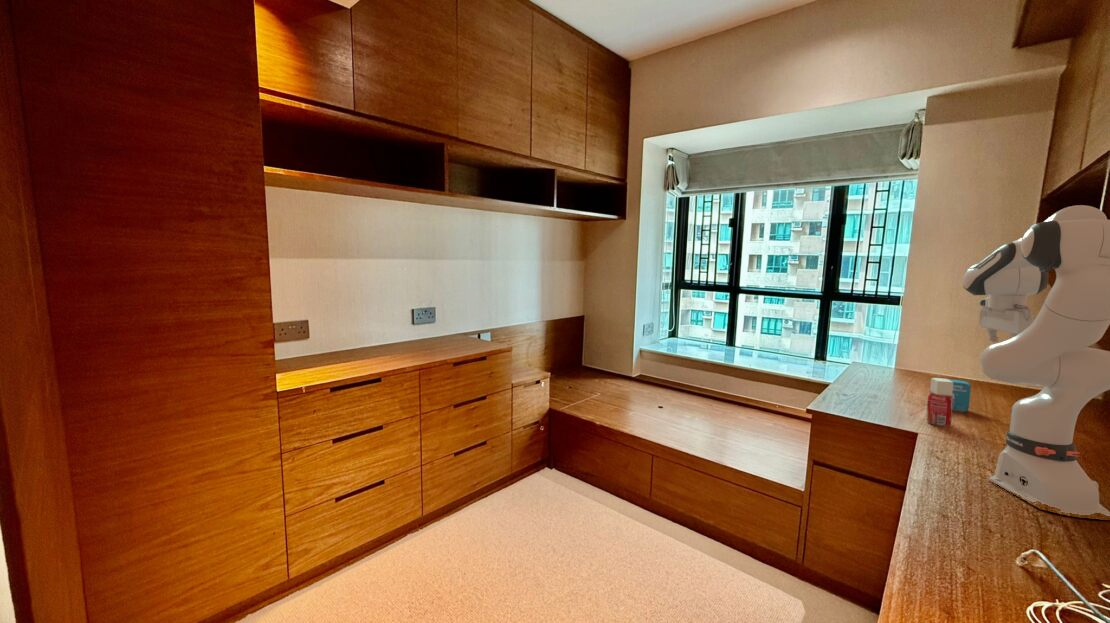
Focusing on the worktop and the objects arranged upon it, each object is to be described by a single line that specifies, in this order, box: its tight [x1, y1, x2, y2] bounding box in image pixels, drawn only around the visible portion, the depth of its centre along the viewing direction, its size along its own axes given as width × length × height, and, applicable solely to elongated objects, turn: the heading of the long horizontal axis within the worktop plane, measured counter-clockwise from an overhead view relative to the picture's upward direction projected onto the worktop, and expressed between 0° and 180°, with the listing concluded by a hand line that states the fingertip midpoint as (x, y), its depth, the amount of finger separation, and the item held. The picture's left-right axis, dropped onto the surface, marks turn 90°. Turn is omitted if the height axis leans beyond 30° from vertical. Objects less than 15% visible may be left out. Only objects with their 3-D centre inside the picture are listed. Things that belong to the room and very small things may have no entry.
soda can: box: [925, 392, 953, 427], centre depth 159 cm, size 7×7×12 cm
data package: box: [929, 377, 972, 413], centre depth 175 cm, size 12×4×12 cm, turn 43°
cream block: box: [929, 377, 953, 395], centre depth 158 cm, size 5×5×5 cm
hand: (1002, 344), depth 141 cm, fingers open, 8 cm apart
